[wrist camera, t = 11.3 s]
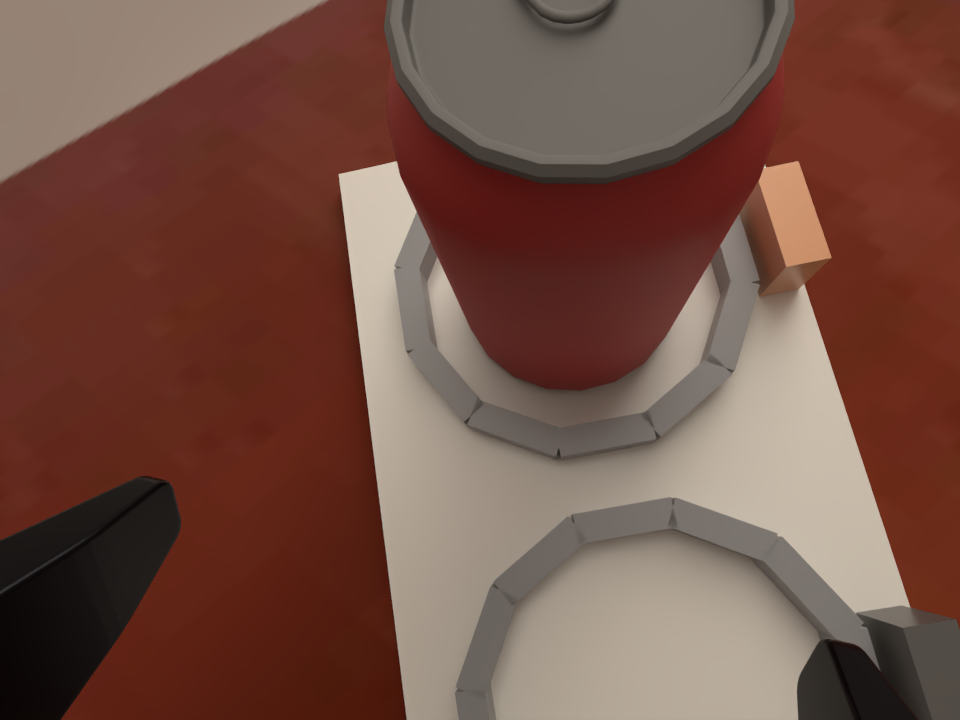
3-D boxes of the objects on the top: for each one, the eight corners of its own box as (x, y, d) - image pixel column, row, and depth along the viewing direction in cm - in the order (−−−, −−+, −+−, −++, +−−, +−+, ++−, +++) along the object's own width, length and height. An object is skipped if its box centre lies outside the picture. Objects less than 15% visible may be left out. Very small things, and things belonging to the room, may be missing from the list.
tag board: (994, 912, 16) (1101, 1008, 13) (447, 979, 17) (421, 1083, 14) (732, 100, 22) (760, 32, 19) (346, 185, 23) (313, 134, 20)
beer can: (617, 169, 21) (691, -260, 9) (712, 343, 19) (948, 77, 8) (436, 248, 21) (287, -81, 9) (513, 429, 19) (448, 295, 8)
